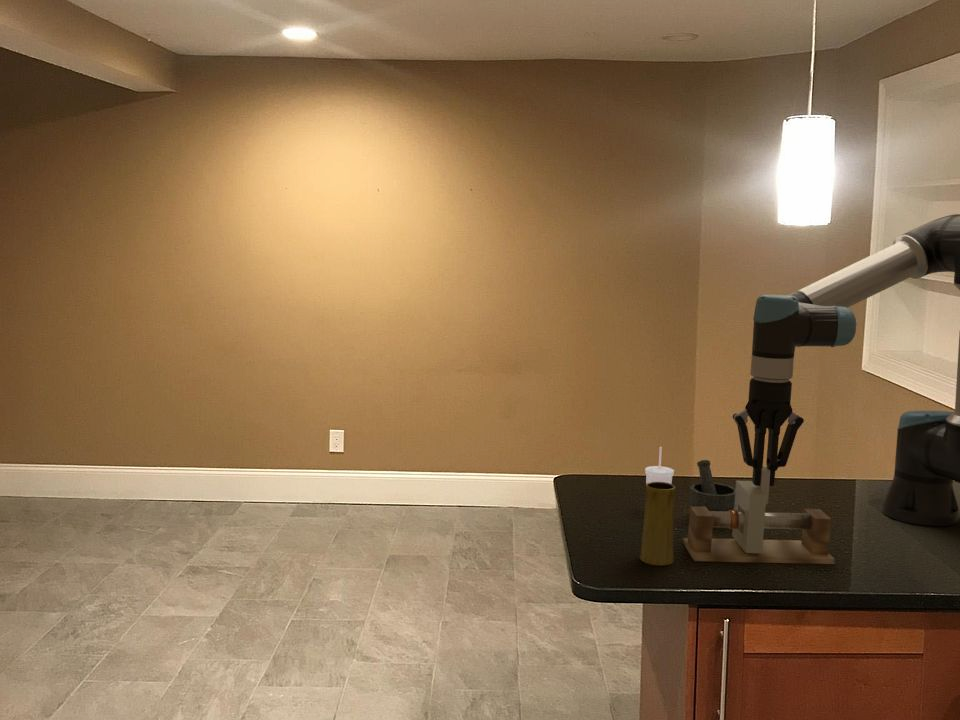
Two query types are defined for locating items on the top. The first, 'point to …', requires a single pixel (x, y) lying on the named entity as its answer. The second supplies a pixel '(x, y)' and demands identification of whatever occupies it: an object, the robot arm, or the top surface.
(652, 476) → the beverage cup
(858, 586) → the top surface
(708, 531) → the stand
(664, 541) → the vase
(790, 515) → the pipe
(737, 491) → the collar
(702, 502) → the mortar and pestle
